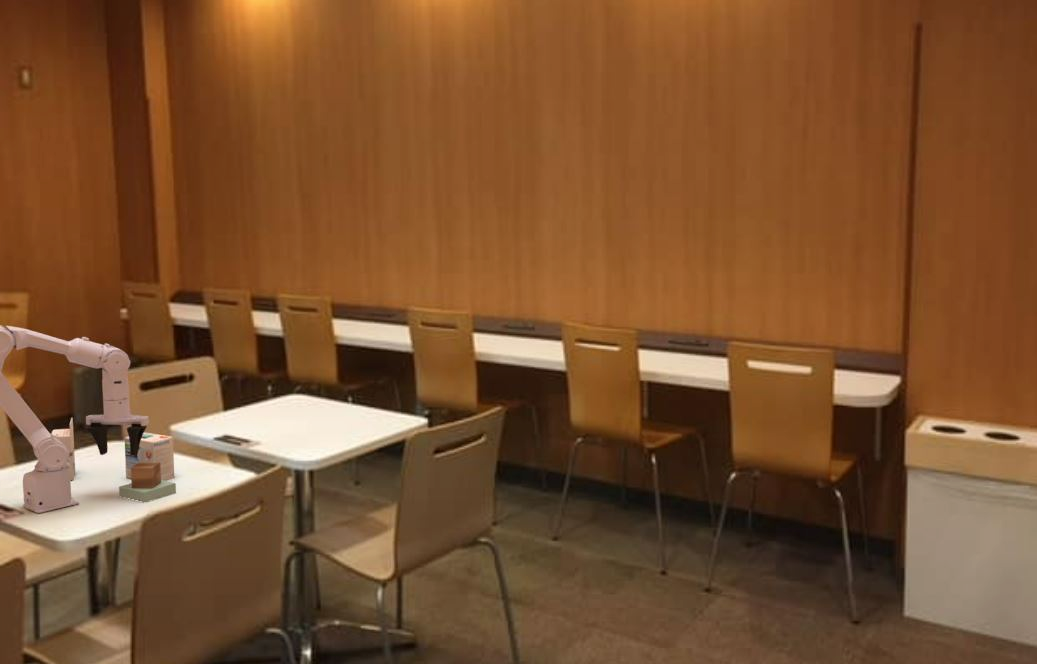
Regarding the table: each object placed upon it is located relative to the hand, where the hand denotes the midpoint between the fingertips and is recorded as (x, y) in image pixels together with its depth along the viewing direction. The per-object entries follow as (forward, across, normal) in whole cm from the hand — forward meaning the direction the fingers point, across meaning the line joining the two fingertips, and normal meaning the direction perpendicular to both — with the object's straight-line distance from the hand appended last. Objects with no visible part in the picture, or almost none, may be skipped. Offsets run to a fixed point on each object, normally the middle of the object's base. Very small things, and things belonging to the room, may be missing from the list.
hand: (119, 454), depth 226 cm
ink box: (+10, +22, -13) cm, 27 cm away
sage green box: (+10, -6, 0) cm, 12 cm away
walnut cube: (+8, -6, 0) cm, 10 cm away
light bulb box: (+10, 0, -14) cm, 18 cm away
